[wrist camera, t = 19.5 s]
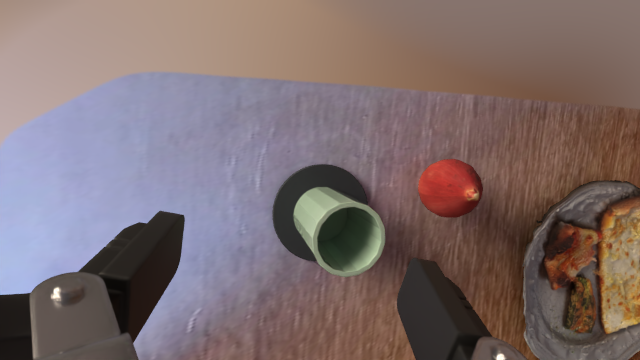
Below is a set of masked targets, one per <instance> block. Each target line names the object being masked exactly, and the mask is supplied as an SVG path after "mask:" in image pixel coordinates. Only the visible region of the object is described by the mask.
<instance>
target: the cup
mask: <svg viewBox="0 0 640 360" xmlns="http://www.w3.org/2000/svg"><path fill="white" fill-rule="evenodd" d="M294 223H295V226H296V229H297V230H298V232H299V234H300V236H301V237H302V239H303V240H304V242H305V243H306V245H307V246H308V248H309V249H310V251H311V252H312V254H313V256H314V257H315V259H316V260H317V262H318V263H319V265H320V266H321V267H323V268H324V269H325V270H327V271H328V272H329V273H330V274H333V275H338V276H342V277H349V276H355V275H359V274H361V273H363V272H364V271H366V270H368V269H369V268H371V267H372V266H373V265H374V264H375V262H376V261H377V260H378V259H379V257H380V256H381V253H382V250H383V247H384V244H385V228H384V225H383V223H382V221H381V219H380V216H379V215H378V214H377V213H376V212H375V211H374V210H373V209H371V208H370V207H369V206H368V205H366V204H364V203H362V202H360V201H358V200H356V199H354V198H352V197H350V196H348V195H346V194H344V193H342V192H340V191H338V190H335V189H332V188H329V187H316V188H313V189H311V190H309V191H307V192H306V193H304V194H303V195H302V196H301V197H300V199H299V200H298V202H297V204H296V206H295V209H294Z"/></svg>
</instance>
